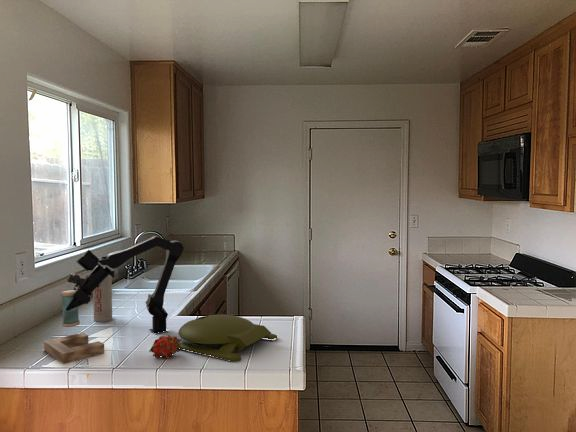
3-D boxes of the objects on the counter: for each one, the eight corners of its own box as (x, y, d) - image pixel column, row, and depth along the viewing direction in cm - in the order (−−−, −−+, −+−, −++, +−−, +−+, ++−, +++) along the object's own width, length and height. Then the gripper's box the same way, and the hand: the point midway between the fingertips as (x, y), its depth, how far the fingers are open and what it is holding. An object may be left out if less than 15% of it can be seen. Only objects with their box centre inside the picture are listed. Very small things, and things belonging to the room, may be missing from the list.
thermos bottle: (102, 322, 220) (101, 260, 218) (89, 320, 224) (88, 259, 222) (116, 318, 227) (114, 258, 225) (103, 315, 231) (102, 256, 229)
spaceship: (280, 339, 199) (280, 316, 199) (235, 364, 173) (235, 337, 172) (211, 326, 216) (211, 304, 216) (161, 347, 190) (161, 322, 189)
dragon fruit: (183, 357, 182) (152, 369, 175) (174, 340, 187) (143, 350, 180) (186, 344, 177) (154, 355, 170) (177, 326, 182) (145, 336, 175)
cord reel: (82, 324, 194) (81, 292, 193) (65, 327, 190) (64, 294, 189) (76, 321, 199) (74, 289, 198) (59, 324, 195) (58, 292, 194)
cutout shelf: (83, 341, 195) (83, 332, 195) (104, 353, 182) (104, 344, 181) (44, 350, 185) (44, 341, 184) (63, 363, 171) (63, 354, 171)
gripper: (79, 261, 203) (51, 290, 199) (79, 269, 186) (48, 301, 182) (100, 278, 206) (73, 307, 203) (102, 288, 189) (72, 319, 186)
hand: (66, 308), depth 193 cm, fingers closed on cord reel, 6 cm apart
